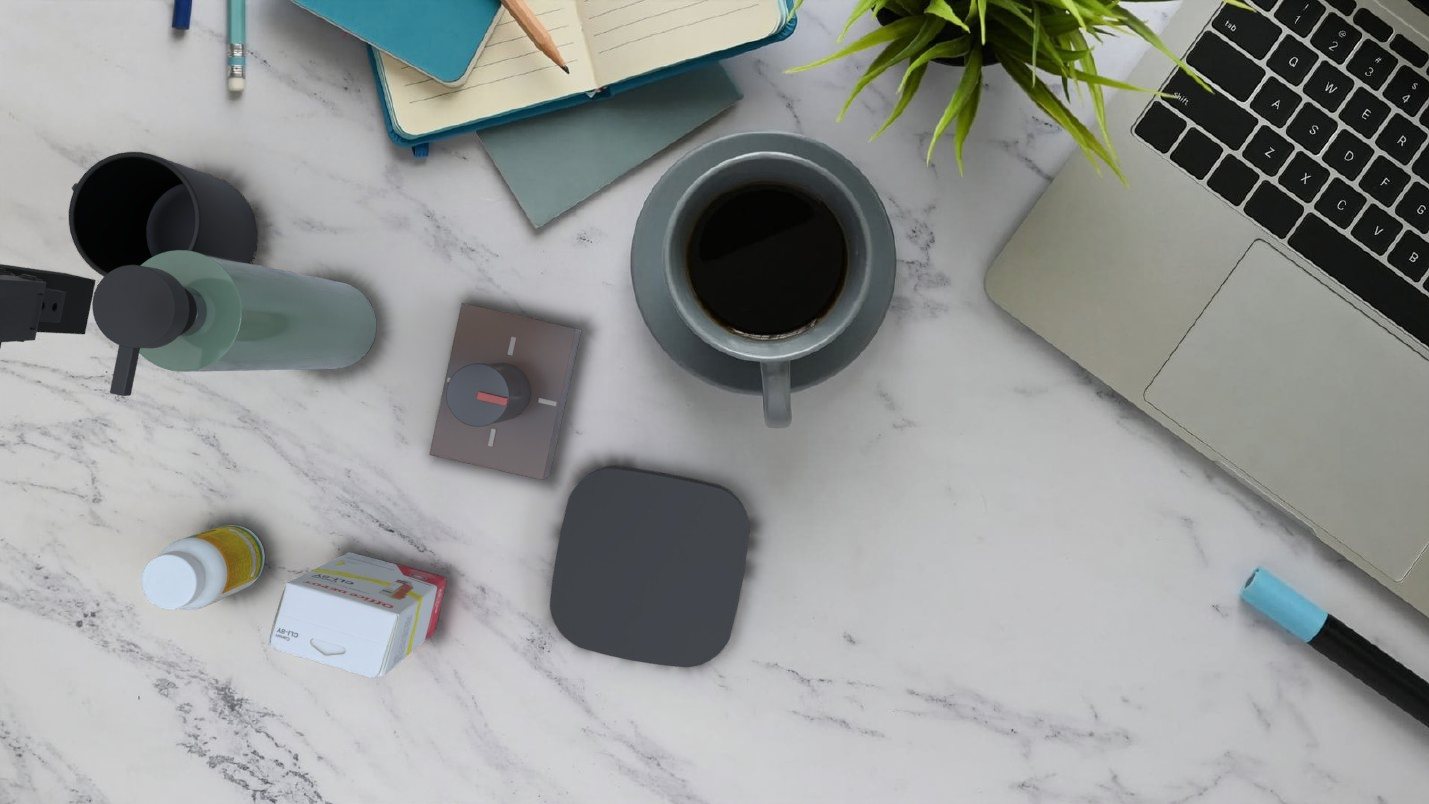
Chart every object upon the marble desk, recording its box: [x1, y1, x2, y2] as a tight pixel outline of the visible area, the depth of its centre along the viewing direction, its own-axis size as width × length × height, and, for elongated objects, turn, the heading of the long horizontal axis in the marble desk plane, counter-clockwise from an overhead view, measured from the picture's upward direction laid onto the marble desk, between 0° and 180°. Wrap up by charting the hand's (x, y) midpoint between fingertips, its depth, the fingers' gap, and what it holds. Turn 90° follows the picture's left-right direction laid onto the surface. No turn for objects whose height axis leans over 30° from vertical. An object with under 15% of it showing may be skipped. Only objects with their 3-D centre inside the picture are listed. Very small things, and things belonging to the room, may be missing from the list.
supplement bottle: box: [140, 524, 266, 611], centre depth 75 cm, size 5×5×10 cm
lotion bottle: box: [139, 250, 377, 373], centre depth 67 cm, size 7×7×23 cm
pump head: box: [91, 265, 189, 397], centre depth 53 cm, size 7×4×2 cm, turn 167°
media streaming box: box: [549, 465, 751, 668], centre depth 78 cm, size 15×15×3 cm
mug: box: [68, 151, 259, 278], centre depth 74 cm, size 9×12×9 cm
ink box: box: [267, 551, 448, 679], centre depth 74 cm, size 9×5×12 cm, turn 74°
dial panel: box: [429, 302, 582, 481], centre depth 77 cm, size 12×9×3 cm
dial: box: [446, 363, 530, 427], centre depth 72 cm, size 4×4×8 cm
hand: (75, 303), depth 48 cm, fingers closed
